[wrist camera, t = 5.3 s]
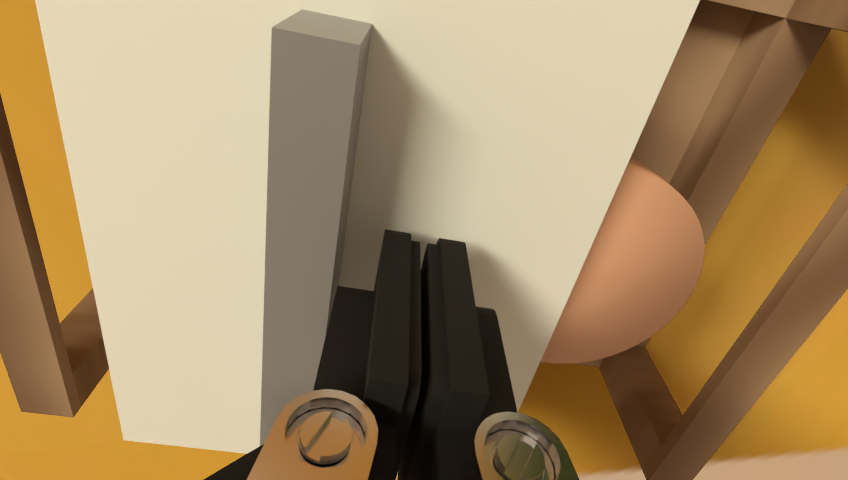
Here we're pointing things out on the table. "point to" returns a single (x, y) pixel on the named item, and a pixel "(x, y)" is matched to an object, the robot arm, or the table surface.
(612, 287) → the peach rounded knob
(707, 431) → the wooden frame crate
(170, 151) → the lid
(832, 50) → the table surface
